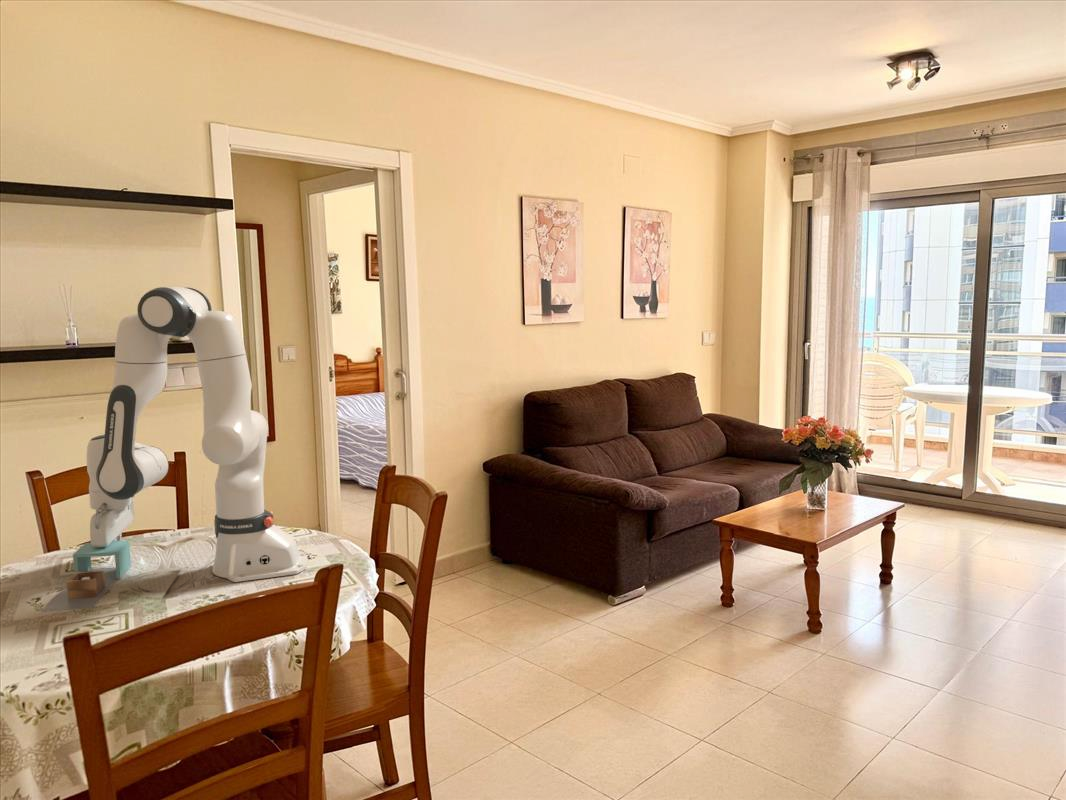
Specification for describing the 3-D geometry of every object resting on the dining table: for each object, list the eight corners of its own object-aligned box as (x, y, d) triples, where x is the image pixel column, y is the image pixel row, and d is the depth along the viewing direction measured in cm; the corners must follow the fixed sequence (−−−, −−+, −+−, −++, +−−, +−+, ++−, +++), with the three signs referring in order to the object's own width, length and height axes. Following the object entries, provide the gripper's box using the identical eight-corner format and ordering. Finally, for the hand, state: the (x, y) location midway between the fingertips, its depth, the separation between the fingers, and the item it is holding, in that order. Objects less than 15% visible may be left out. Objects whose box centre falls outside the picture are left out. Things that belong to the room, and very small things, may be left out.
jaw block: (104, 587, 171) (103, 570, 170) (96, 597, 166) (94, 580, 165) (77, 589, 170) (76, 572, 169) (68, 599, 164) (66, 581, 164)
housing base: (128, 570, 184) (127, 552, 183) (93, 612, 160) (91, 592, 160) (83, 573, 182) (82, 555, 181) (41, 615, 158) (39, 595, 158)
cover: (131, 565, 183) (129, 540, 182) (120, 578, 175) (118, 551, 174) (87, 568, 181) (85, 542, 180) (75, 581, 173) (72, 554, 172)
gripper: (110, 510, 174) (114, 567, 176) (137, 487, 194) (140, 538, 196) (80, 511, 173) (84, 568, 175) (110, 488, 193) (114, 539, 195)
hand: (114, 552), depth 186 cm, fingers closed
